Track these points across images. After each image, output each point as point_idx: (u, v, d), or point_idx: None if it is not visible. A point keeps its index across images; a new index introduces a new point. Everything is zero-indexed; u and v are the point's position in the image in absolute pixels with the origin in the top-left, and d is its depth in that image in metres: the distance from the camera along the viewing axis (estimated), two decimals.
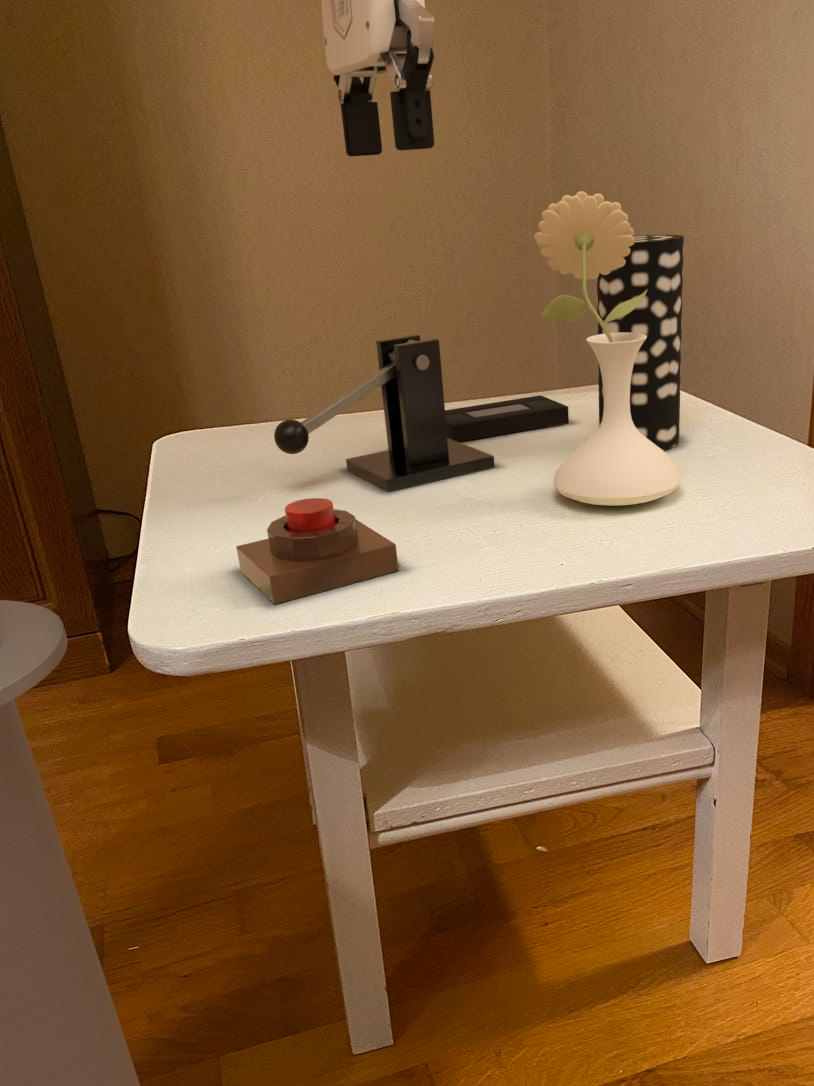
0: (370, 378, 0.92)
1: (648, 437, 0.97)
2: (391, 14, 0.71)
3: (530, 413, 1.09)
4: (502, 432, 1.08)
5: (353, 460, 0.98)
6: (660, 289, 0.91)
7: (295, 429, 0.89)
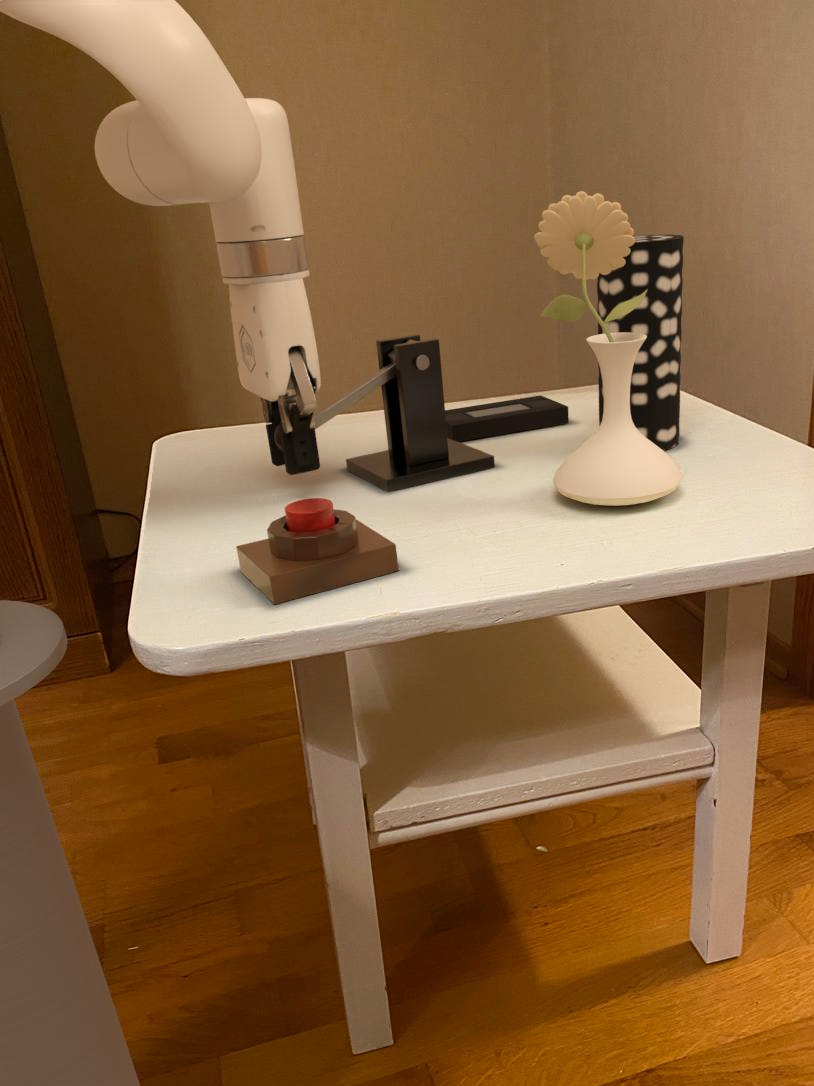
0: (370, 378, 0.92)
1: (648, 437, 0.97)
2: (287, 366, 0.83)
3: (530, 413, 1.09)
4: (502, 432, 1.08)
5: (353, 460, 0.98)
6: (660, 289, 0.91)
7: None
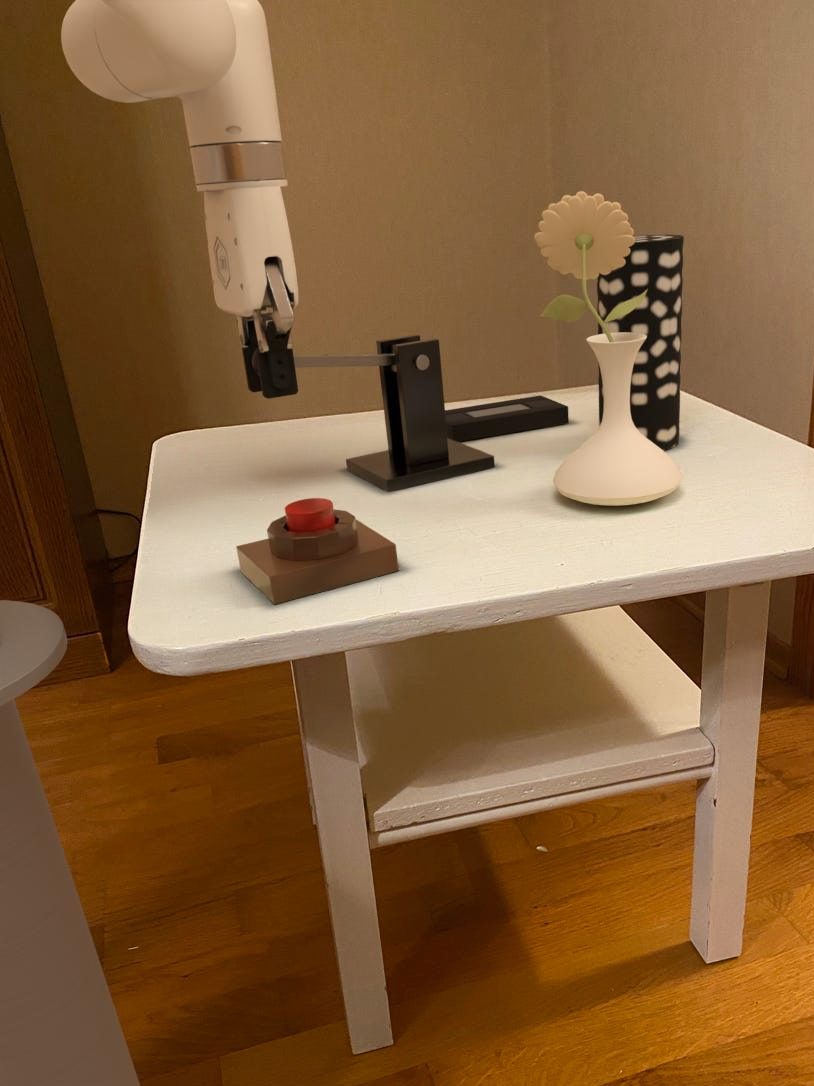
0: (367, 354, 0.91)
1: (648, 437, 0.97)
2: (262, 278, 0.79)
3: (530, 413, 1.09)
4: (502, 432, 1.08)
5: (353, 460, 0.98)
6: (660, 289, 0.91)
7: None
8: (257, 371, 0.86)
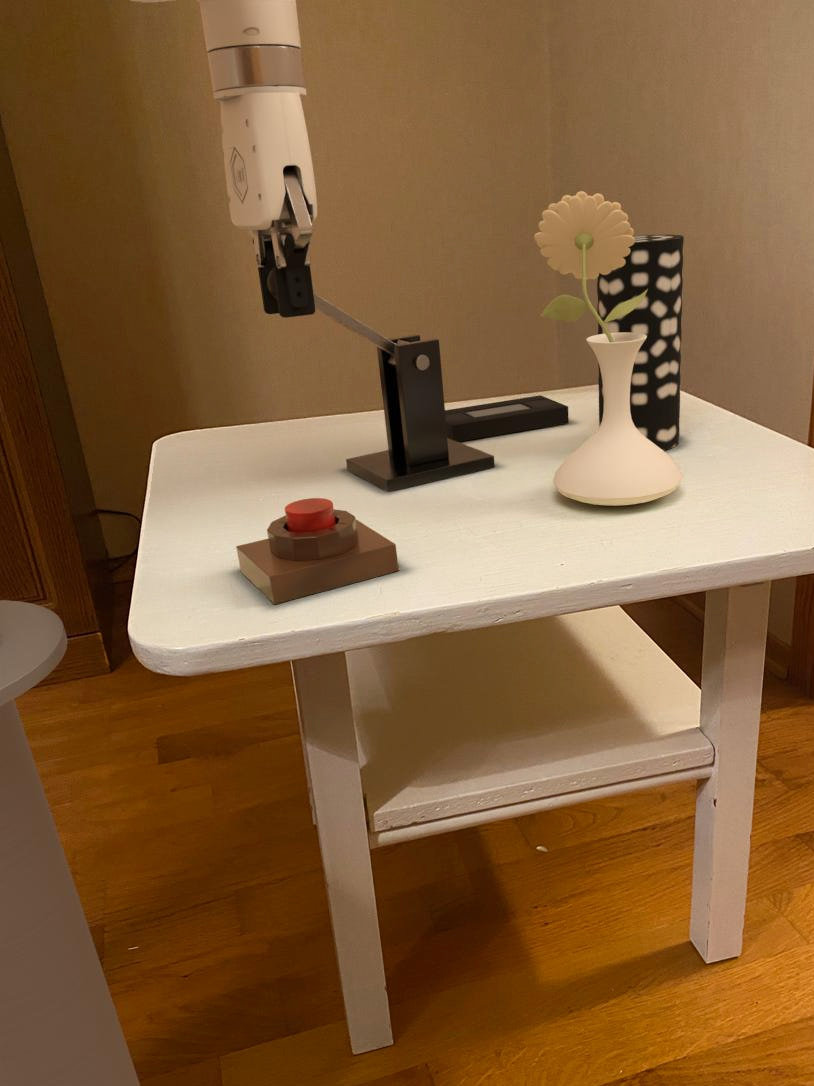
0: None
1: (648, 437, 0.97)
2: (281, 187, 0.77)
3: (530, 413, 1.09)
4: (502, 432, 1.08)
5: (353, 460, 0.98)
6: (660, 289, 0.91)
7: None
8: (270, 283, 0.84)
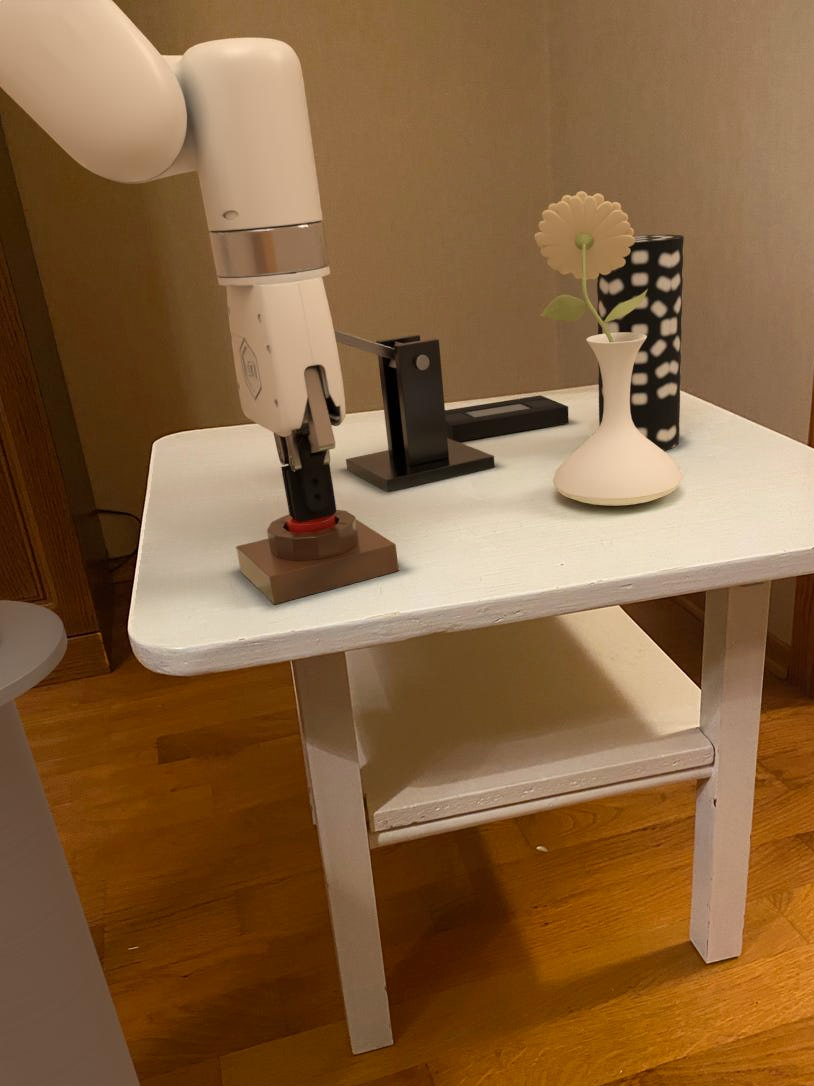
0: (370, 341, 0.91)
1: (648, 437, 0.97)
2: (302, 392, 0.64)
3: (530, 413, 1.09)
4: (502, 432, 1.08)
5: (353, 460, 0.98)
6: (660, 289, 0.91)
7: None
8: None
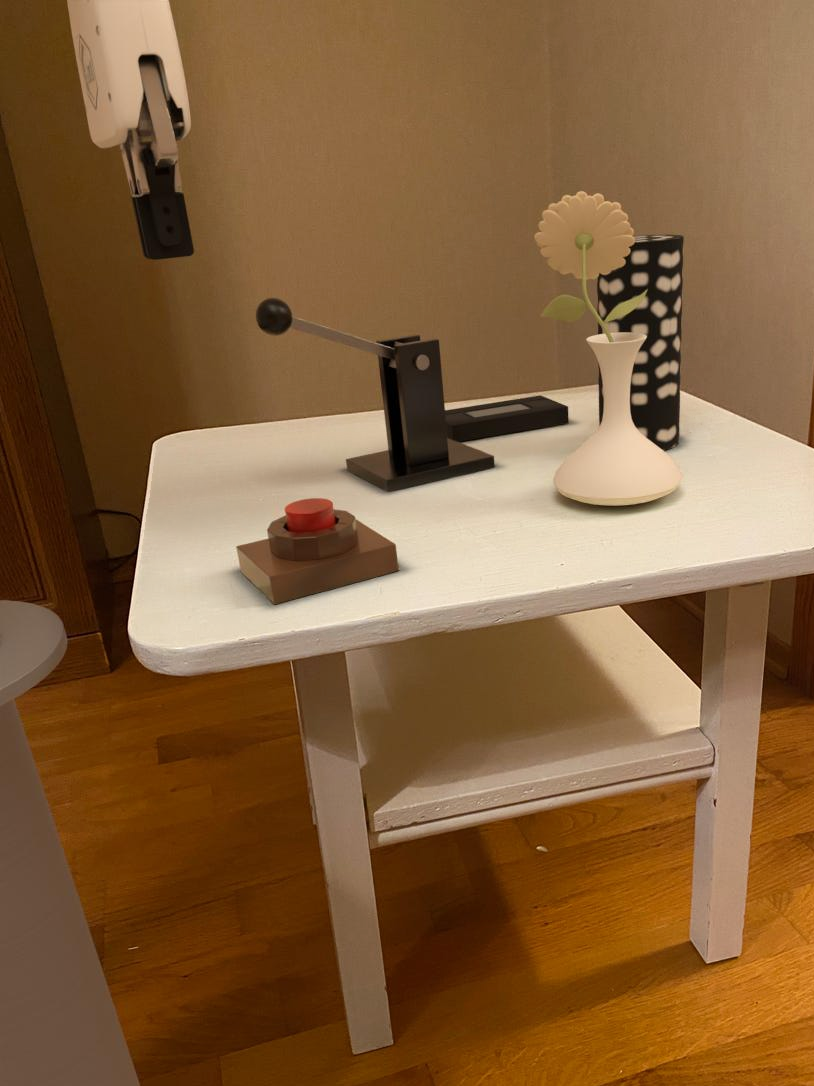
0: (370, 341, 0.91)
1: (648, 437, 0.97)
2: (137, 84, 0.59)
3: (530, 413, 1.09)
4: (502, 432, 1.08)
5: (353, 460, 0.98)
6: (660, 289, 0.91)
7: (285, 310, 0.85)
8: (259, 321, 0.85)
